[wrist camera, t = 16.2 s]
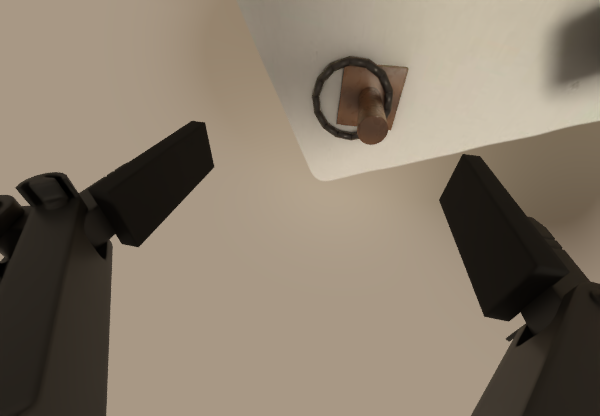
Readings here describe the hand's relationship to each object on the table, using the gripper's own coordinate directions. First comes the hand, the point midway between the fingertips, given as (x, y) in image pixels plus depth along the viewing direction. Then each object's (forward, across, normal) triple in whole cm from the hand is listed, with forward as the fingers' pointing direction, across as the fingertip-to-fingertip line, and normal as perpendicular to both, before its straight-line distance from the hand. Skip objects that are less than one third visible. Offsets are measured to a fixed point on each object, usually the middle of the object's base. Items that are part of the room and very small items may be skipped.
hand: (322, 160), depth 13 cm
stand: (+26, +4, -3) cm, 27 cm away
